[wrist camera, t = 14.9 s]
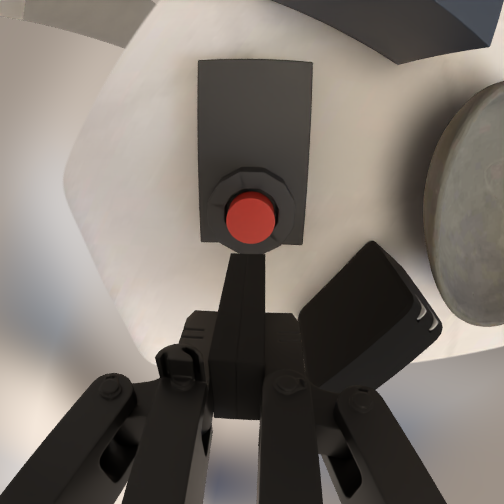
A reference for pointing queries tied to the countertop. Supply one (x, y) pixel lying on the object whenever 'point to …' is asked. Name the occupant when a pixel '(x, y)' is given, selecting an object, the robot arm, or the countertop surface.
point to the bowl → (469, 210)
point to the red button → (250, 217)
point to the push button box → (253, 144)
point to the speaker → (409, 24)
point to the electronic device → (365, 324)
